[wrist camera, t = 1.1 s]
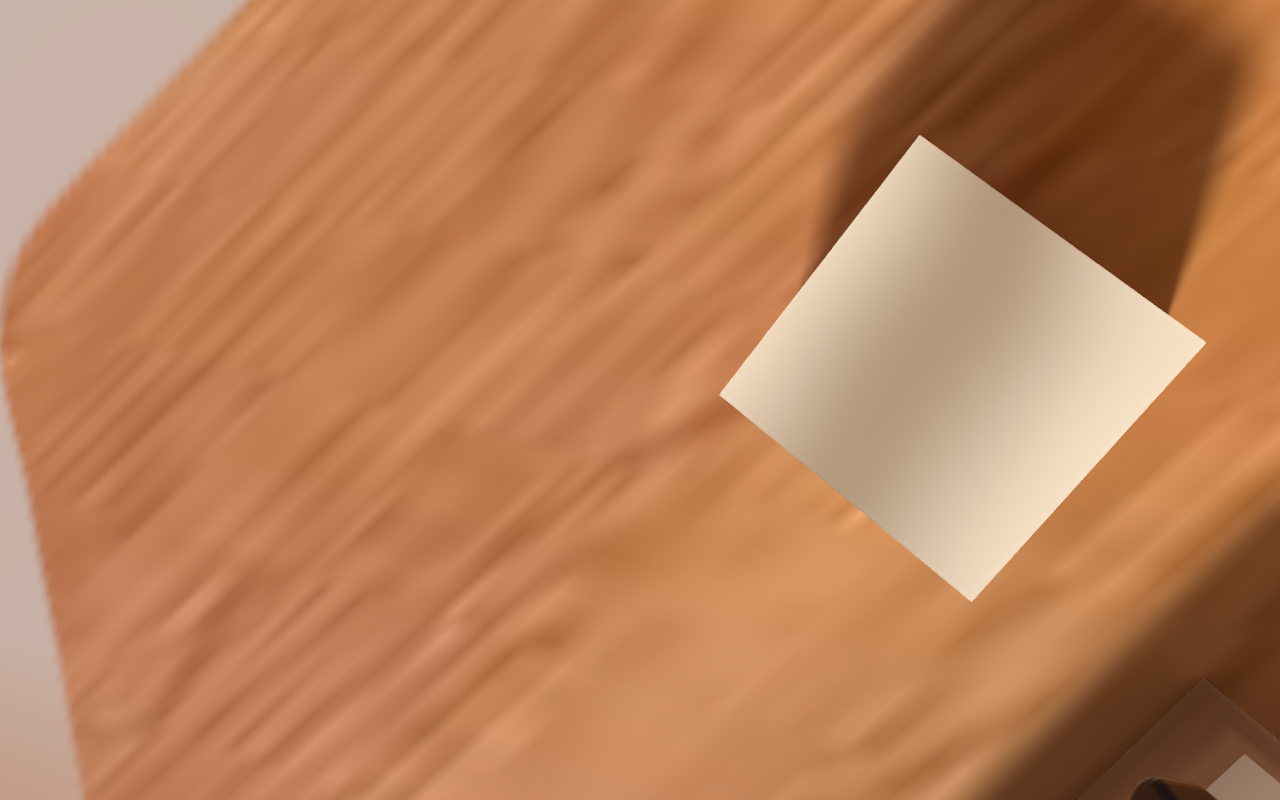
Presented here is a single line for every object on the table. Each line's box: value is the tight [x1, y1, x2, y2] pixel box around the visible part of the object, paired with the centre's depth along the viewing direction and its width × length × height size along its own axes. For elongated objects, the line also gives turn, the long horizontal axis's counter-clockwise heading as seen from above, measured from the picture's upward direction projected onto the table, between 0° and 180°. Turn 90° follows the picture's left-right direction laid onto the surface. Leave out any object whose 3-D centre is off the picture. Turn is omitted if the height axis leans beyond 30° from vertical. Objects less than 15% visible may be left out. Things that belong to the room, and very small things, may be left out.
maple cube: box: [720, 135, 1206, 602], centre depth 19 cm, size 5×5×5 cm
